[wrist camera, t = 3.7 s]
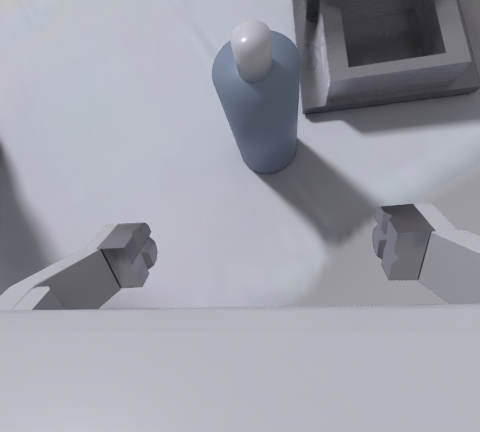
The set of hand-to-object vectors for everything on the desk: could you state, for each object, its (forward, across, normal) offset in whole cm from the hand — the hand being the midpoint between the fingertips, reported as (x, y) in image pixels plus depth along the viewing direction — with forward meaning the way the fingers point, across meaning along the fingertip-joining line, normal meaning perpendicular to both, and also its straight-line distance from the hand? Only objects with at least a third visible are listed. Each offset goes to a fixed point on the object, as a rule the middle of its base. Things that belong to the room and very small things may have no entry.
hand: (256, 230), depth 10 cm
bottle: (+16, 0, +2) cm, 17 cm away
